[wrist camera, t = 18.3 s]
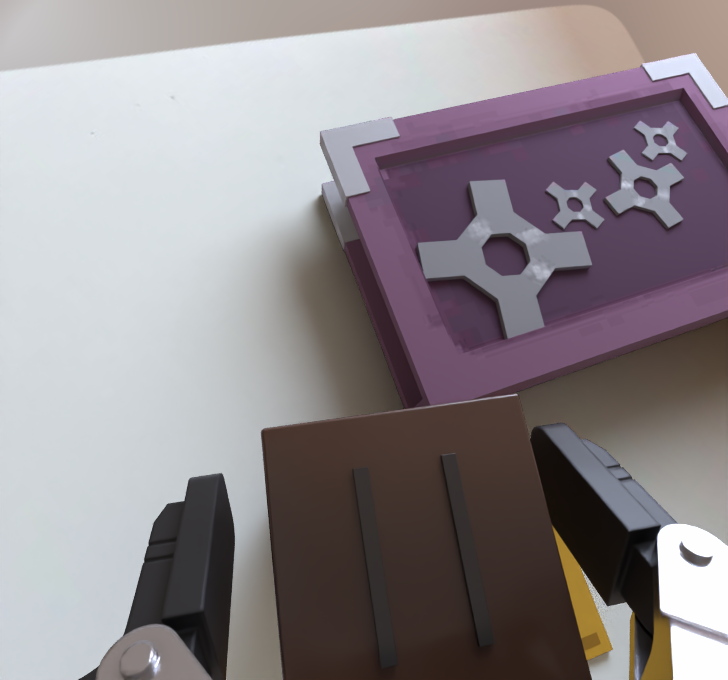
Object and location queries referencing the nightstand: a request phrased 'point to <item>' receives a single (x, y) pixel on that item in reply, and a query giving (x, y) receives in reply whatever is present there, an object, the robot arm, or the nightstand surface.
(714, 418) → the nightstand surface
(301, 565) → the knife block
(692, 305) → the book
